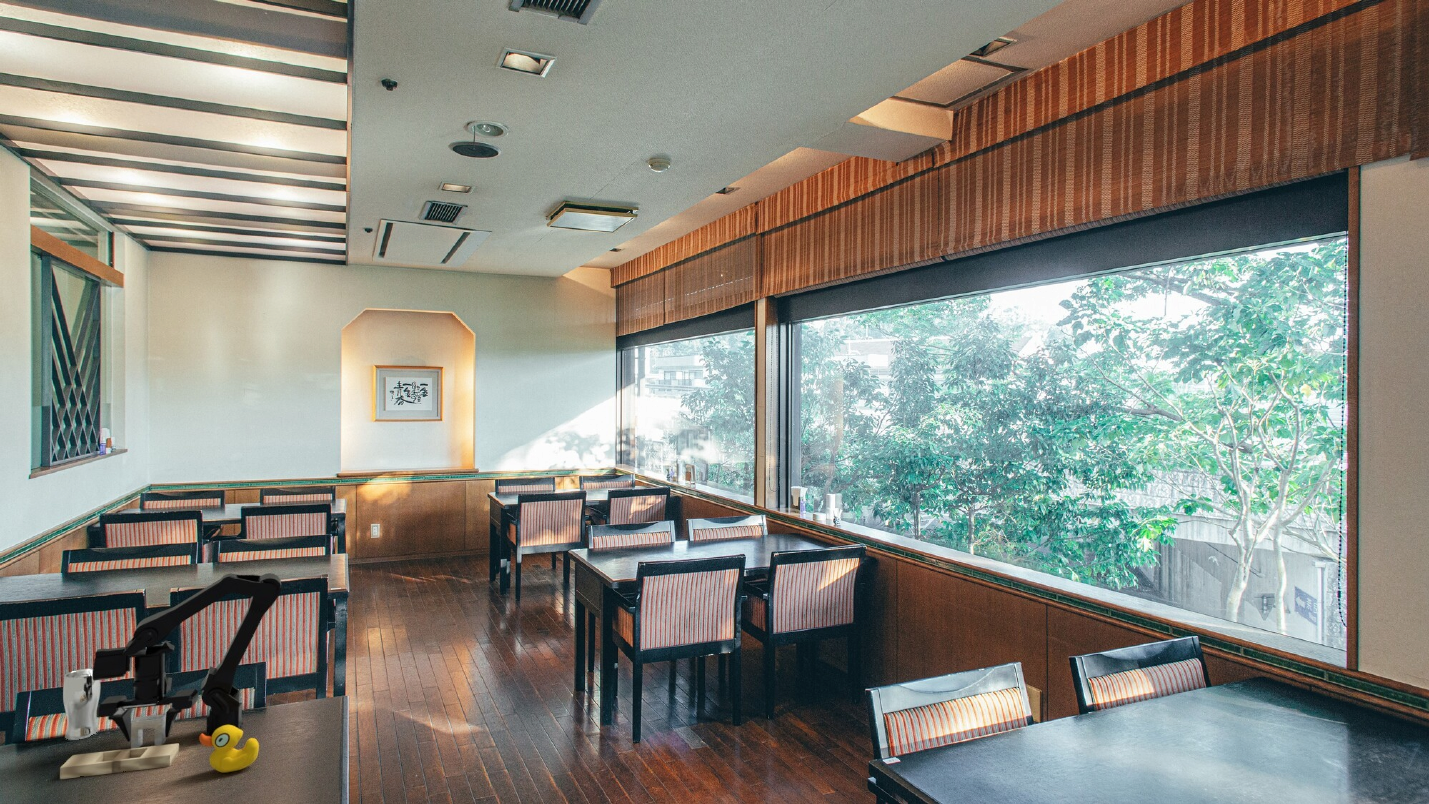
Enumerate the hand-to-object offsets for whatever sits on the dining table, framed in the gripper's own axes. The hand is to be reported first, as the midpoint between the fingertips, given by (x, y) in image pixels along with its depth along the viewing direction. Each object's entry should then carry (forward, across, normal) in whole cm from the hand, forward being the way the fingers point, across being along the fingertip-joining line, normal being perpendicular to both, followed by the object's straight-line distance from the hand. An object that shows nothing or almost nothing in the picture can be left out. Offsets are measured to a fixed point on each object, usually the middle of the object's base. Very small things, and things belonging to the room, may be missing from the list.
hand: (148, 738), depth 182 cm
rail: (+2, +2, +10) cm, 10 cm away
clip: (+2, 0, 0) cm, 2 cm away
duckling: (+2, -21, +19) cm, 28 cm away
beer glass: (+2, +17, -11) cm, 20 cm away
